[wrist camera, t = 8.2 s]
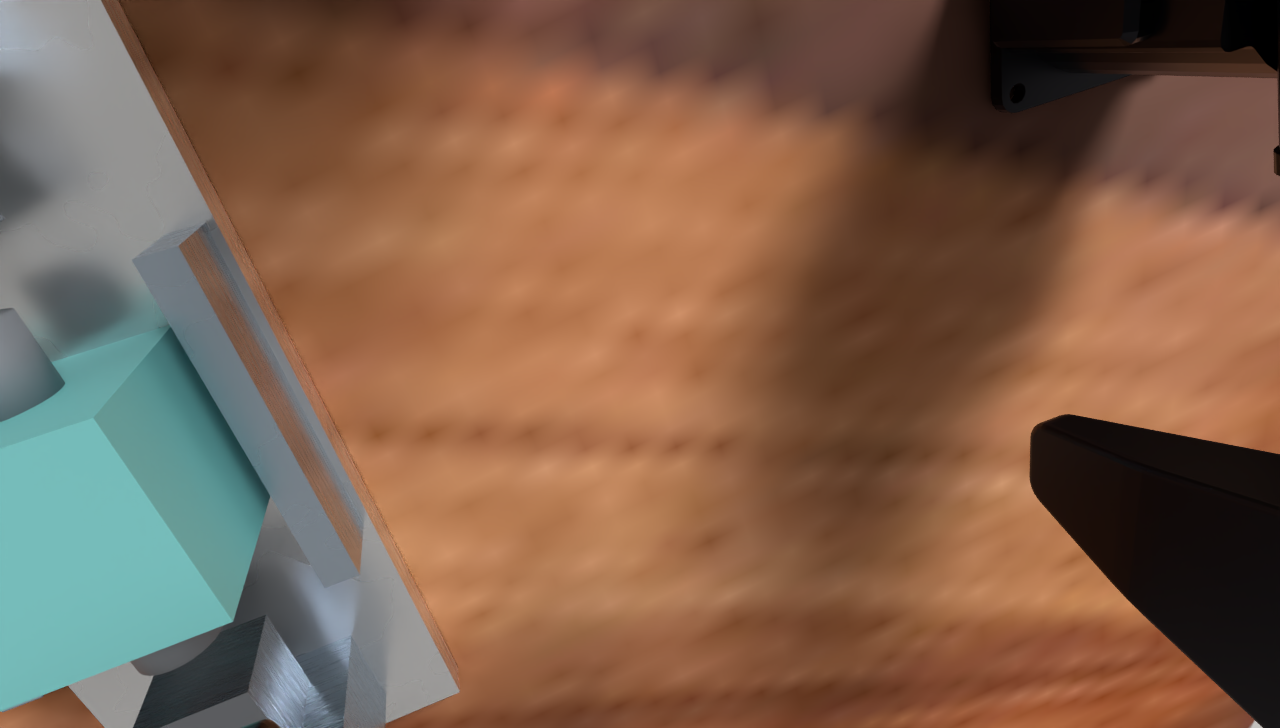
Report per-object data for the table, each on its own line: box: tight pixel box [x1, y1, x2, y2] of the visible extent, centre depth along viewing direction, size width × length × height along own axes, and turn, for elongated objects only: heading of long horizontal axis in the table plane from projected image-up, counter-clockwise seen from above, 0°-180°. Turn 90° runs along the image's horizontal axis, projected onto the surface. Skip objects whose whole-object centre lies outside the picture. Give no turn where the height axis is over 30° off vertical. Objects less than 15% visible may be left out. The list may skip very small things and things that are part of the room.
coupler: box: [0, 308, 270, 711], centre depth 14 cm, size 4×8×4 cm, turn 14°
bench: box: [0, 0, 460, 728], centre depth 15 cm, size 8×21×5 cm, turn 14°
